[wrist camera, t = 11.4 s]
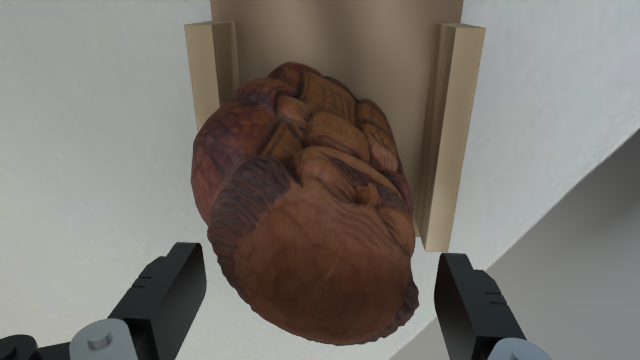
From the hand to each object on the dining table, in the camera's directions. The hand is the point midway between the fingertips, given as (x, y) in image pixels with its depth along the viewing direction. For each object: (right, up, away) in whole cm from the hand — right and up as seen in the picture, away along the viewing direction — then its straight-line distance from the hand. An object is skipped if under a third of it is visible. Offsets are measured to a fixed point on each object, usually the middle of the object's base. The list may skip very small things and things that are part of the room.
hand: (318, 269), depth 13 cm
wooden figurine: (+1, +7, +15) cm, 17 cm away
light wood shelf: (+1, +7, +16) cm, 18 cm away
